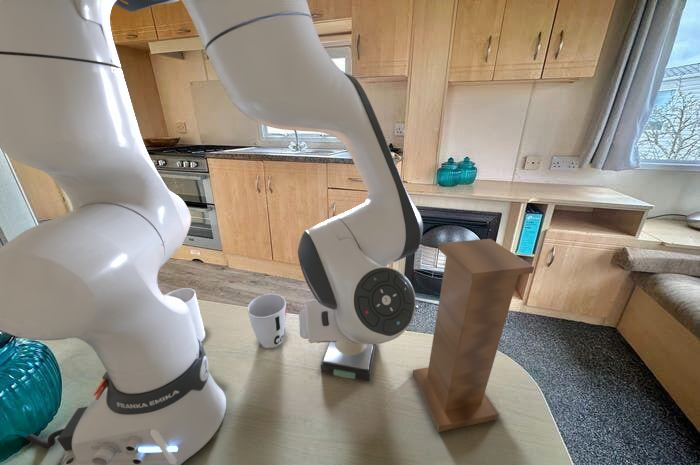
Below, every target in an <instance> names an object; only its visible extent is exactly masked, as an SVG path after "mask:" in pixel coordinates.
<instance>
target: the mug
mask: <svg viewBox="0 0 700 465" xmlns="http://www.w3.org/2000/svg"><path fill="white" fill-rule="evenodd" d="M165 295H168V296H173V297H176V298H179V299H181V300H182V301H183V302H185V303H186V305H187V306H188V308H189V311H190V314H191V318H192V321H193V325H194V328H195V332H196V335H197V337H198V338H199V339H200V340H201V342H202V343H203V341H204V339H205V338H206V331H205V327H204V323H203V318H202V315H201V311H200V310H201V309H200V307H199V306H200V305H199V302H198V298H197V294H196V291H195V290H194V289H193V288H190V287H183V288H178V289H174V290H171V291H169V292H167V293H166V294H165Z"/></svg>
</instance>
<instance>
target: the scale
mask: <svg viewBox="0 0 700 465" xmlns="http://www.w3.org/2000/svg"><path fill="white" fill-rule="evenodd" d="M376 346H377V344H367V346H366V348H365V350H364V351H362V352H361V353H359V354H357V355H345V354H342V353H341V352H339V351H338V350H337V348H336V347H335V342H328V345H327V347H326V349H325V352H324V355H323V358H322V361H321V362H320V373H323V374H324V373H325V374H330V375H333V376H335V377H341V378H346V379H352V380H361V381H365V382H370V381H371V376H372V369H373V363H374V359H375V358H374V357H375V352H376Z"/></svg>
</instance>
